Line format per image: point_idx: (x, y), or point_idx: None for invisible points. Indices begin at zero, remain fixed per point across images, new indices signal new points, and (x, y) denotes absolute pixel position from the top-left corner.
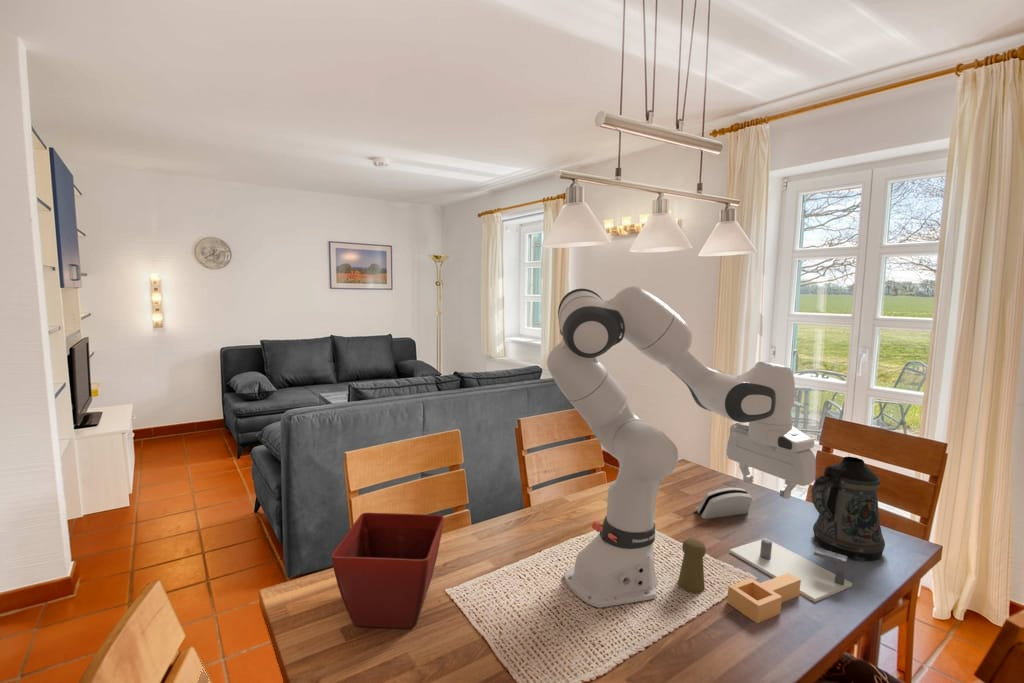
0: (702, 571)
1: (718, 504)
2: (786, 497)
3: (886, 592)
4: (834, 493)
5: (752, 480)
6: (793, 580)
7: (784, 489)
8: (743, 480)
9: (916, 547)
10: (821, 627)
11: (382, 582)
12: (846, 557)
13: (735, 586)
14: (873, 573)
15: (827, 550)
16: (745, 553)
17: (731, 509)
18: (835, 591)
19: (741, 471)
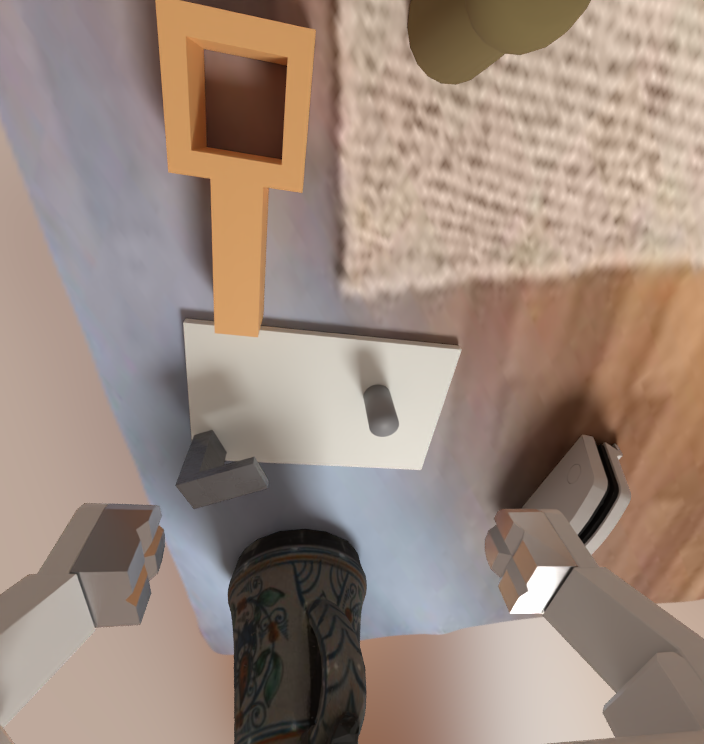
0: (439, 10)
1: (576, 489)
2: (77, 518)
3: (147, 487)
4: (318, 698)
5: (492, 563)
6: (221, 309)
7: (47, 595)
8: (558, 516)
9: (229, 638)
10: (90, 214)
11: None
12: (190, 502)
13: (298, 59)
14: (208, 525)
15: (238, 495)
16: (420, 367)
17: (539, 507)
18: (189, 401)
19: (644, 598)
